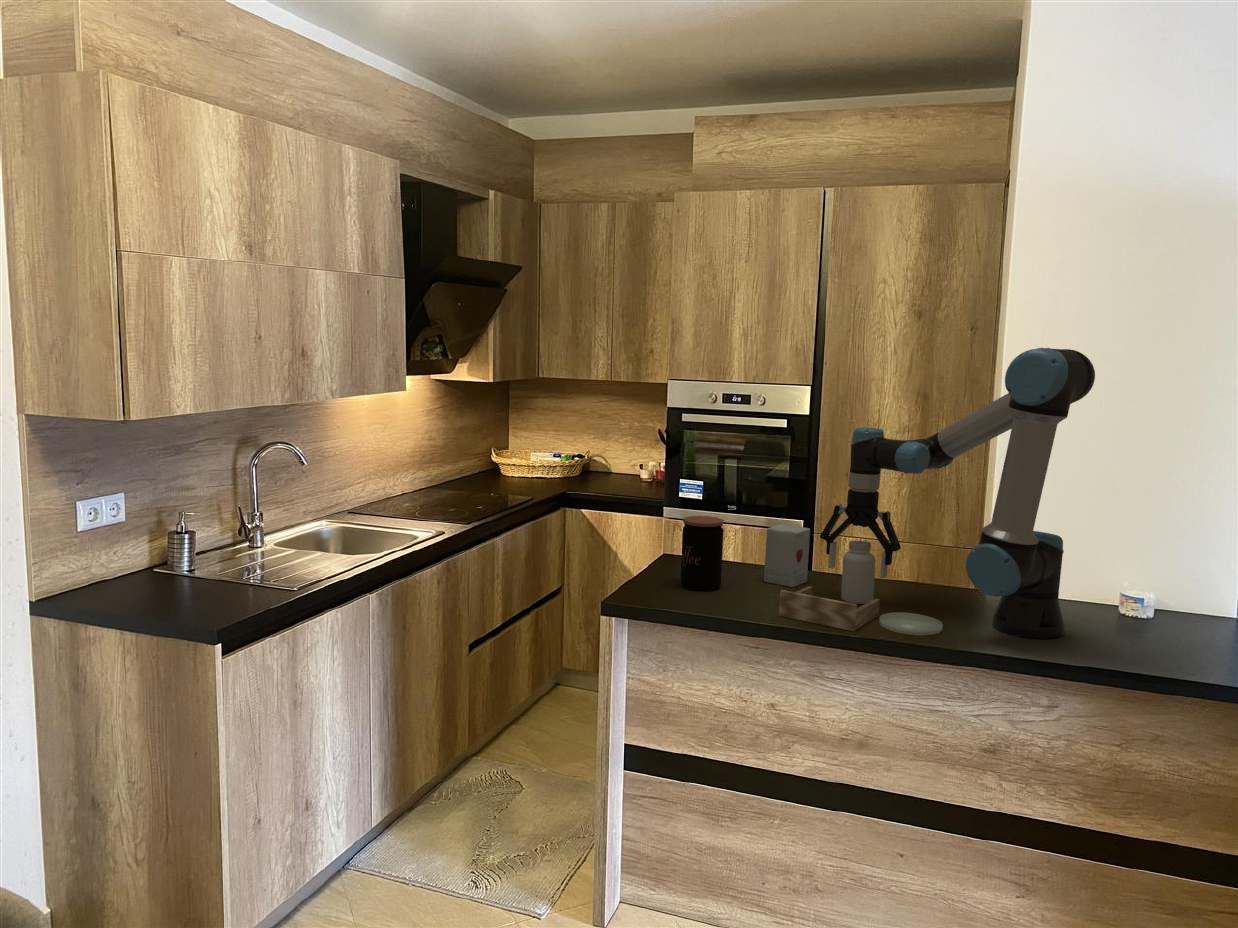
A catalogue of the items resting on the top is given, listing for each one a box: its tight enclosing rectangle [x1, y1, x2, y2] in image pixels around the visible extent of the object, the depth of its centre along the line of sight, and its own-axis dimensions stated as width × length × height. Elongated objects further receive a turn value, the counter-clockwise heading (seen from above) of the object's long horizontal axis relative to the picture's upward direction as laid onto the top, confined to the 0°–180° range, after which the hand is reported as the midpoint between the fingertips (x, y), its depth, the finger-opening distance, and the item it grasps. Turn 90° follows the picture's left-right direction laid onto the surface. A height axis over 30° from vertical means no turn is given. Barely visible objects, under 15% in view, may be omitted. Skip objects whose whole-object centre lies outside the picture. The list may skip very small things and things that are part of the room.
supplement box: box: [763, 523, 811, 588], centre depth 249 cm, size 9×9×15 cm
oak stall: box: [778, 585, 881, 632], centre depth 219 cm, size 18×16×6 cm
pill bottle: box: [840, 540, 876, 605], centre depth 232 cm, size 8×8×15 cm
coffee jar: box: [680, 515, 725, 592], centre depth 241 cm, size 11×11×18 cm
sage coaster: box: [878, 611, 944, 637], centre depth 212 cm, size 14×14×1 cm
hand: (857, 572), depth 233 cm, fingers open, 13 cm apart
